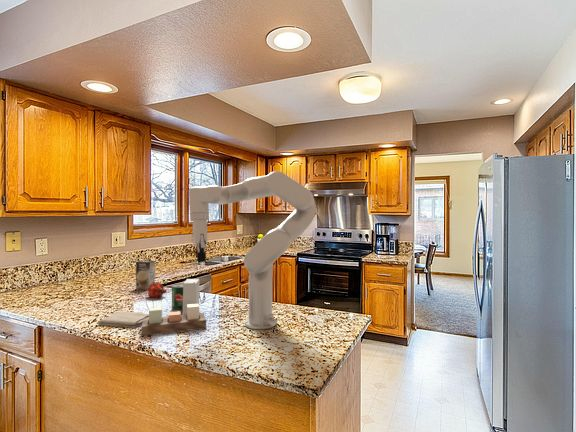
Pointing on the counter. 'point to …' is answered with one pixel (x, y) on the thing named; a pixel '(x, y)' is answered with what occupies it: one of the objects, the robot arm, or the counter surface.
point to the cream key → (192, 311)
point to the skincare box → (190, 293)
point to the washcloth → (124, 319)
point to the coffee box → (145, 274)
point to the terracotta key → (174, 316)
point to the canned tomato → (177, 297)
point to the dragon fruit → (156, 290)
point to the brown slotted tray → (173, 325)
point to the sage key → (155, 315)
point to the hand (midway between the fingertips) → (201, 261)
